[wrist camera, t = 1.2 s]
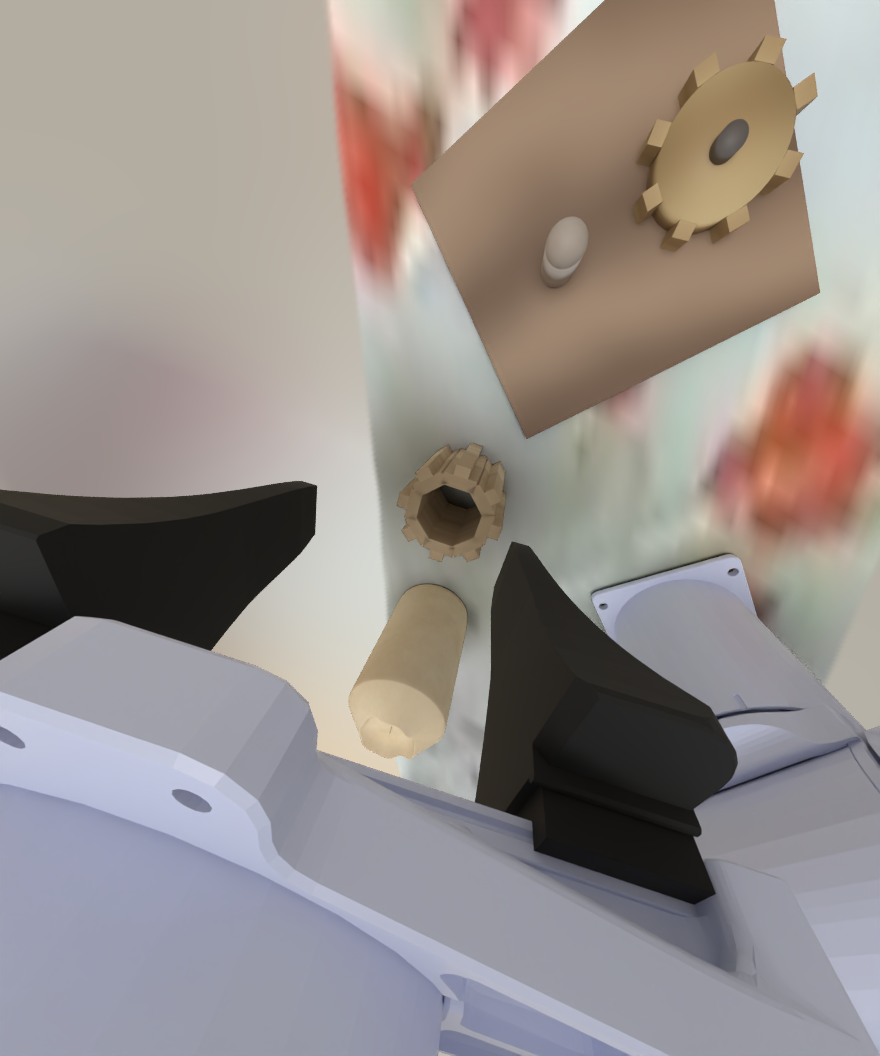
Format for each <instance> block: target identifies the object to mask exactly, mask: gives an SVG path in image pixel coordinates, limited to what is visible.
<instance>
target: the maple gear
mask: <svg viewBox="0 0 880 1056" xmlns="http://www.w3.org/2000/svg"><path fill="white" fill-rule="evenodd" d="M482 447H483V446H480V445H477V444H474V443H471V444H470V445H469V447H468V448H467V449H466V450H464V449H461V450H460V449H458V450H456V451H454V452H452V450H451V448H450V446H449V445H447V446H445V447H443V448H442V449H440V450H438V451H437V452H436V453H435V454H434V455H433V456H432V457H431V458H430V459H429V460H428V461H427V462H426V463H425V464H424V465H423V466H422V467H421V468H420V469H419V470H418V471H417V472H416V473H415V474H416V475H417V476H416V477H415V478H414V479H413V480H412V481H411V482H410V483H409V484H408V485H407V486H406V487H405V488H404V489H403V490H402V491H401V492H400V493H399V498H398V502H397V506H398V507H401V508H404V509H406V512H405V516H404V517H405V518H406V519H405V521H406V522H407V524H406V525H405V526H404V528H403V529H402V530H401V531H402V532H403V534H404V535H405V537H406V539H407V540H408V542H409V541H411V540H414V539H416V538H417V540H418V542H419V543H420V545H423V547H424V548H427V549H430V550H431V551H430V555H429V558H431V559H434V560H437V561H439V562H442V559H443V557H444V555H447V556H450V557H452V556H453V555H454V557H457V556H459V555H463V556H464V558H465V560H466V562H469V561H472V560H474V559H477V558H479V556H480V551H481V547H483V545H485V542H486V539H487V537H488V538H491V539H494V540H498V538H499V535H500V533H501V530H502V526H503V517H504V508H505V500H506V493H504V492H502V490H503V483H504V477H505V470H504V468H503V466H502V464H501V462H498V463H496V464H494V465H492V464H491V462H490V460H489V459H487V457H486V456H483V455H480V453H481V450H482ZM486 459H487V460H486ZM443 485H447V486H450V487H453V488H456V489H459V490H462V491H465V492H468V493H470V495H471V497H472V498H473V500H474V502H475V504H476V505H475V506H473V507H471V508H469V509H463V508H460V507H458V506H455V505H452V504H449V503H448V502H447V501H446V499H445V497H444V495H443V494H442V492H441V490H440V488H439V487H441V486H443Z"/></svg>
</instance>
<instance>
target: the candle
mask: <svg viewBox="0 0 880 1056" xmlns="http://www.w3.org/2000/svg"><path fill="white" fill-rule="evenodd" d="M466 628H467V611H466V608H465V606H464V604H463V603H462V601H461V600H460V599H459V598H458V597H457V596H456V595H455V594H454V593H452V592H451V591H449V590H448V589H446V588H443V587H441V586H437V585H432V584H422V585H417V586H414V587H412V588H410V589H409V590H407V591H406V592H405V593H404V594H403V596H402V597H401V598H400V600H399V602H398V604H397V605H396V607H395V609H394V611H393V613H392V615H391V617H390V619H389V620H388V622H387V624H386V626H385V628H384V630H383V632H382V634H381V636H380V638H379V639H378V641H377V643H376V645H375V647H374V649H373V651H372V653H371V655H370V656H369V659H368V660H367V662H366V664H365V666H364V668H363V670H362V672H361V674H360V676H359V677H358V679H357V681H356V683H355V685H354V687H353V689H352V691H351V693H350V695H349V707H350V711H351V714H352V717H353V720H354V722H355V725H356V727H357V730H358V732H359V735H360V738H361V742H362V744H363V746H364V747H365V748H366V749H368V750H370V751H373V752H374V753H376V754H378V755H380V756H382V757H384V758H394V757H396V756H403V757H405V758H407V759H412V758H413V757H414V756H416V755H417V754H419V753H420V752H422V751H423V750H425V749H427V748H428V747H430V746H432V745H434V744H435V743H437V742H438V741H439V740H440V739H441V738H442V737H443V735H444V733H445V729H446V725H447V720H448V715H449V710H450V706H451V701H452V696H453V691H454V686H455V681H456V677H457V672H458V667H459V662H460V657H461V653H462V648H463V643H464V638H465V633H466Z"/></svg>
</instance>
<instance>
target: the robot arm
mask: <svg viewBox="0 0 880 1056" xmlns="http://www.w3.org/2000/svg"><path fill="white" fill-rule="evenodd" d="M316 498H317V486H316V485H313V484H309V483H306V482H302V481H293V482H284V483H277V484H271V485H266V486H260V487H253V488H247V489H241V490H234V491H227V492H219V493H212V494H203V495H193V496H179V497H155V498H154V497H151V498H106V497H82V496H65V495H51V494H40V493H30V492H19V491H7V490H0V1056H438V1051H439V1052H442V1053H445V1054H448V1055H451V1056H880V726H878V727H875V728H873V729H870V730H867V731H866V730H865V729H864V728H863V727H862V725H861V724H860V723H859V722H858V721H857V720H856V719H855V718H854V717H853V716H852V715H851V714H850V713H849V712H848V711H847V710H846V709H845V708H844V707H843V706H842V705H841V704H840V703H839V702H838V701H837V700H836V699H835V697H834V696H832V694H831V693H830V692H829V691H828V690H827V689H826V688H825V687H824V686H823V685H822V684H821V683H820V682H819V681H818V680H817V679H816V678H815V677H814V676H813V675H812V674H811V673H810V672H809V670H808V669H807V668H806V667H805V666H804V665H803V664H802V663H801V662H800V661H799V660H798V659H797V658H796V657H795V656H794V655H793V654H792V653H791V652H790V651H789V650H788V649H787V648H786V647H785V646H784V645H783V644H782V642H781V641H780V640H779V639H778V638H777V637H776V636H775V635H774V634H773V633H772V632H771V631H770V630H769V629H768V628H767V627H766V626H765V625H764V624H763V623H762V622H761V621H760V620H759V619H758V618H757V614H756V611H755V607H754V604H753V600H752V597H751V593H750V590H749V586H748V583H747V579H746V576H745V572H744V569H743V566H742V562H741V560H740V559H739V558H738V557H737V556H735V555H732V554H728V555H723V556H720V557H716V558H712V559H709V560H705V561H702V562H698V563H695V564H691V565H688V566H684V567H681V568H677V569H674V570H670V571H667V572H663V573H660V574H656V575H653V576H649V577H646V578H642V579H639V580H635V581H632V582H628V583H624V584H621V585H617V586H614V587H610V588H607V589H603V590H600V591H597V592H594V593H593V594H592V596H591V599H592V602H593V604H594V607H595V609H596V611H597V613H598V615H599V617H600V619H601V622H602V624H603V626H604V628H605V630H606V632H607V634H608V635H607V634H605V633H604V632H603V631H602V630H601V629H600V628H598V627H597V626H596V625H595V624H594V623H593V622H592V621H591V620H590V619H589V618H588V617H587V616H586V615H585V614H584V613H583V612H582V611H581V610H580V609H579V608H578V607H577V606H576V605H575V604H574V603H573V602H572V601H571V600H570V598H569V597H568V596H567V595H566V594H565V593H564V591H563V590H562V589H561V588H560V587H559V585H558V584H557V583H556V582H555V580H554V579H553V578H552V576H551V575H550V574H549V572H548V571H547V570H546V568H545V567H544V566H543V564H542V563H541V561H540V560H539V559H538V557H537V556H536V555H535V553H534V552H533V550H532V549H531V548H530V547H529V546H526V545H523V544H519V543H516V542H512V543H511V545H510V548H509V550H508V553H507V555H506V558H505V561H504V563H503V566H502V568H501V571H500V573H499V576H498V579H497V581H496V584H495V586H494V592H493V599H492V607H491V680H490V689H489V699H488V708H487V717H486V725H485V733H484V742H483V749H482V756H481V764H480V771H479V779H478V785H477V792H476V799H475V802H472V801H469V800H466V799H463V798H460V797H457V796H454V795H451V794H448V793H445V792H442V791H439V790H436V789H433V788H430V787H427V786H424V785H421V784H418V783H415V782H412V781H409V780H406V779H403V778H400V777H397V776H393V775H390V774H388V773H384V772H382V771H378V770H376V769H373V768H370V767H366V766H364V765H361V764H358V763H355V762H351V761H349V760H346V759H343V758H339V757H336V756H334V755H330V754H327V753H324V752H321V751H318V750H316V747H317V732H318V730H317V727H316V724H315V721H314V718H313V715H312V712H311V709H310V706H309V704H308V702H307V700H306V699H304V697H303V696H302V695H300V694H299V693H298V692H297V691H296V690H295V689H294V688H293V687H292V686H291V685H290V684H289V683H288V682H287V681H286V680H284V679H282V678H280V677H278V676H276V675H274V674H272V673H270V672H268V671H266V670H264V669H262V668H260V667H258V666H256V665H253V664H250V663H246V662H243V661H240V660H237V659H234V658H231V657H227V656H225V655H221V654H218V653H215V652H212V651H211V650H212V649H213V647H214V646H215V645H216V643H217V642H218V641H219V640H220V638H221V637H222V636H223V635H224V633H225V632H226V631H227V629H228V628H229V627H230V626H231V624H232V623H233V622H234V621H235V620H236V619H237V617H238V616H239V615H240V614H241V612H242V611H243V610H244V609H245V608H246V607H247V605H248V604H249V603H250V602H251V601H252V600H253V599H254V598H255V597H256V596H257V595H258V594H259V593H260V592H261V591H262V590H263V589H264V588H265V587H266V586H267V585H268V584H269V583H270V582H271V581H272V580H274V578H275V577H277V576H278V575H279V574H280V573H281V572H282V571H283V570H284V569H285V568H286V567H287V566H288V565H289V564H290V563H291V562H292V561H293V560H294V559H295V558H296V557H297V556H298V555H299V554H300V553H301V552H302V551H303V549H304V548H305V547H306V546H307V544H308V543H309V541H310V540H311V538H312V537H313V536H314V535H315V523H316ZM732 568H735V569H734V570H733V571H732V572H728V571H729V570H730V569H732ZM602 603H605V604H606V605H604V606H600V604H602Z"/></svg>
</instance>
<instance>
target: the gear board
mask: <svg viewBox="0 0 880 1056" xmlns="http://www.w3.org/2000/svg"><path fill="white" fill-rule="evenodd" d="M785 41H786V39H784V38H780V34H779V27H778V21H777V14H776V8H775V2H774V0H605V1H603V2H602V3H601V4H600V5H599V6H598V7H597V8H596V9H595V10H594V11H593V12H592V13H591V14H590V15H589V16H588V17H587V18H586V19H585V20H584V21H582V22H581V23H580V24H579V25H578V26H577V27H576V28H575V29H574V30H573V31H572V32H571V33H570V34H569V35H568V36H567V37H566V38H565V39H564V40H562V41H561V42H560V43H559V44H558V45H557V46H556V47H555V48H554V49H553V50H552V51H551V52H550V53H549V54H548V55H547V56H546V57H545V58H544V59H543V60H541V61H540V62H539V63H538V64H537V65H536V66H535V67H534V68H533V69H532V70H531V71H530V72H529V73H528V74H527V75H526V76H525V77H524V78H523V79H522V80H520V81H519V82H518V83H517V84H516V85H515V86H514V87H513V88H512V89H511V90H510V91H509V92H508V93H507V94H506V95H505V96H504V97H503V98H502V99H500V100H499V101H498V102H497V103H496V104H495V105H494V106H493V107H492V108H491V109H490V110H489V111H488V112H487V113H486V114H485V115H484V116H483V117H482V118H481V119H479V120H478V121H477V122H476V123H475V124H474V125H473V126H472V127H471V128H470V129H469V130H468V131H467V132H466V133H465V134H464V135H463V136H462V137H461V138H460V139H458V140H457V141H456V142H455V143H454V144H453V145H452V146H451V147H450V148H449V149H448V150H447V151H446V152H445V153H444V154H443V155H442V156H441V157H440V158H438V159H437V160H436V161H435V162H434V163H433V164H432V165H431V166H430V167H429V168H428V169H427V170H426V171H425V172H424V173H423V174H422V175H421V176H420V177H419V178H417V179H416V180H415V181H414V182H413V183H412V184H411V187H412V189H413V191H414V193H415V195H416V198H417V200H418V202H419V204H420V206H421V209H422V211H423V213H424V215H425V217H426V219H427V222H428V224H429V226H430V228H431V230H432V233H433V235H434V237H435V239H436V241H437V244H438V246H439V248H440V250H441V252H442V255H443V257H444V259H445V261H446V263H447V266H448V268H449V270H450V272H451V274H452V276H453V279H454V281H455V283H456V285H457V287H458V290H459V292H460V294H461V296H462V298H463V301H464V303H465V305H466V307H467V309H468V312H469V314H470V316H471V318H472V320H473V323H474V325H475V327H476V329H477V331H478V334H479V336H480V338H481V340H482V342H483V344H484V347H485V349H486V351H487V353H488V355H489V358H490V360H491V362H492V364H493V366H494V369H495V371H496V373H497V375H498V377H499V380H500V382H501V384H502V386H503V388H504V391H505V393H506V395H507V397H508V399H509V401H510V404H511V406H512V408H513V410H514V412H515V415H516V417H517V419H518V421H519V423H520V426H521V428H522V430H523V432H524V434H525V437H526V439H528V438H530V437H532V436H534V435H536V434H538V433H540V432H542V431H544V430H546V429H548V428H550V427H552V426H554V425H556V424H558V423H560V422H562V421H564V420H566V419H568V418H570V417H572V416H574V415H576V414H578V413H580V412H582V411H584V410H586V409H588V408H590V407H592V406H594V405H596V404H598V403H600V402H602V401H604V400H606V399H608V398H610V397H612V396H614V395H616V394H618V393H620V392H622V391H624V390H626V389H628V388H630V387H632V386H634V385H636V384H638V383H640V382H642V381H644V380H646V379H648V378H650V377H652V376H654V375H656V374H658V373H660V372H662V371H664V370H666V369H668V368H670V367H672V366H674V365H676V364H678V363H680V362H682V361H684V360H686V359H688V358H690V357H692V356H694V355H696V354H698V353H700V352H702V351H704V350H706V349H708V348H710V347H712V346H714V345H716V344H718V343H720V342H722V341H724V340H726V339H728V338H730V337H732V336H734V335H736V334H738V333H740V332H742V331H744V330H746V329H748V328H750V327H752V326H754V325H756V324H759V323H761V322H763V321H765V320H767V319H769V318H771V317H773V316H775V315H777V314H779V313H781V312H783V311H785V310H787V309H789V308H791V307H793V306H795V305H797V304H799V303H801V302H803V301H805V300H807V299H809V298H811V297H813V296H815V295H817V294H819V293H820V289H819V283H818V276H817V270H816V264H815V257H814V251H813V244H812V238H811V232H810V225H809V219H808V212H807V206H806V200H805V193H804V187H803V180H802V174H801V168H800V159H801V158H802V156H803V154H804V153H801V152H798V149H797V142H796V136H795V129H794V125H795V119H796V116H797V115H798V114H799V113H800V112H801V111H802V110H803V109H804V108H805V107H806V106H808V105H809V104H810V103H811V102H812V101H813V100H814V99H815V98H816V97H817V96H818V95H817V88H816V81H815V73H813V74H811V75H810V76H809V77H807V78H806V79H804V80H803V81H802V82H800V83H799V84H797V85H796V86H794V87H793V88H792V86H791V83H790V81H789V80H788V78H787V77H786V72H785V66H784V59H783V53H782V47H783V45H784V43H785Z"/></svg>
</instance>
